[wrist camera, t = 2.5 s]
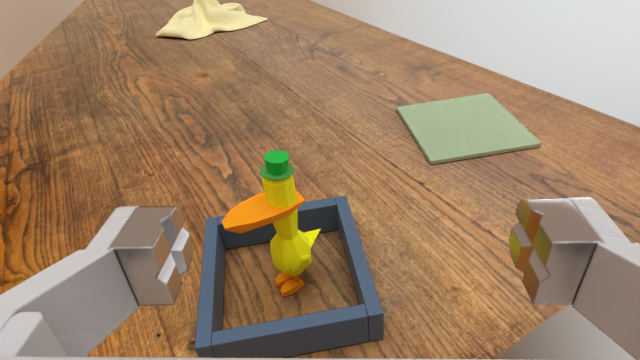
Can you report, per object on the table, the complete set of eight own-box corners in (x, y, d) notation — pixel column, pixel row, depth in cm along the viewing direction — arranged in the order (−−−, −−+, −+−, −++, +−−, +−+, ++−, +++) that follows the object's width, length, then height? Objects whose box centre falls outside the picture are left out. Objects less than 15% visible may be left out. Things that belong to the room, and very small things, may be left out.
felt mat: (487, 96, 54) (488, 92, 54) (541, 147, 44) (542, 143, 44) (396, 110, 53) (396, 106, 53) (430, 165, 44) (431, 161, 43)
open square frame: (347, 220, 38) (345, 195, 36) (383, 339, 29) (383, 313, 27) (214, 243, 37) (205, 218, 36) (206, 373, 28) (194, 348, 26)
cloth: (153, 46, 80) (142, 12, 76) (164, 17, 95) (155, -12, 91) (270, 28, 82) (265, -5, 78) (263, 3, 97) (258, -26, 93)
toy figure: (257, 322, 31) (219, 196, 23) (239, 288, 33) (200, 165, 26) (336, 281, 33) (324, 154, 26) (314, 252, 36) (297, 130, 28)
